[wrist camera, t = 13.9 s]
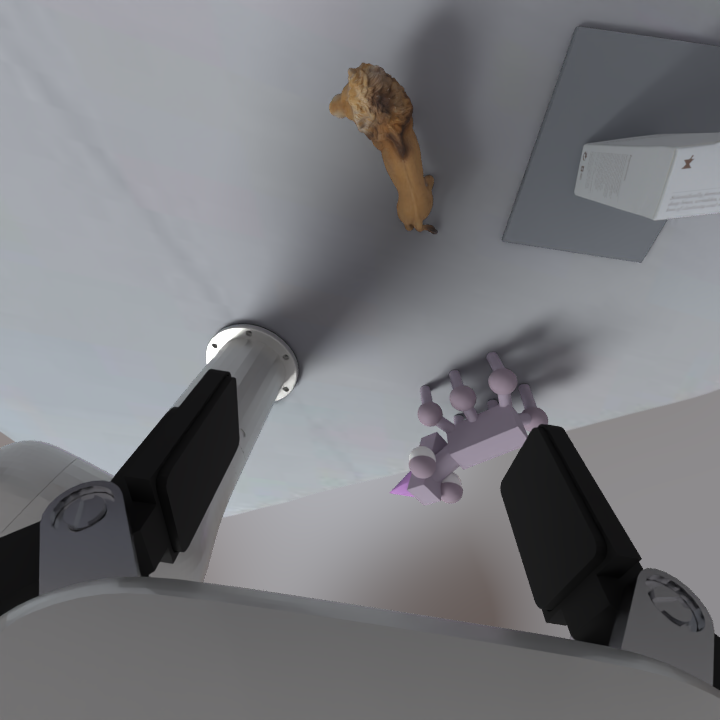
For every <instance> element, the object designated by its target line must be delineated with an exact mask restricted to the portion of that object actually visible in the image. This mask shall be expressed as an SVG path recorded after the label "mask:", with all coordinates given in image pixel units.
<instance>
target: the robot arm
mask: <svg viewBox="0 0 720 720" xmlns="http://www.w3.org/2000/svg"><path fill="white" fill-rule="evenodd" d="M206 360H207V365H206V366H205V367H204V368H203V370H202V371H201V372H200V373H199V374H198V376H197V377H196V378H195V379H194V380H193V382H192V383H191V384H190V385H189V386H188V388H187V389H186V390H185V391H184V392H183V394H182V395H181V396H180V397H179V399H178V400H177V401H176V402H175V403H174V405H173V406H172V407H171V408H170V409H169V411H168V412H167V413H166V414H165V415H164V417H163V418H162V419H161V420H160V421H159V423H158V424H157V425H156V426H155V427H154V429H153V430H152V431H151V432H150V434H149V435H148V436H147V437H146V438H145V440H144V441H143V442H142V443H141V445H140V446H139V447H138V448H137V449H136V451H135V452H134V453H133V454H132V455H131V457H130V458H129V459H128V460H127V461H126V463H125V464H124V465H123V466H122V467H121V469H120V470H119V471H118V472H117V474H116V475H115V476H113V475H111V474H110V473H108V472H106V471H104V470H102V469H100V468H98V467H96V466H95V465H93V464H91V463H89V462H87V461H85V460H83V459H81V458H80V457H77V456H75V455H73V454H71V453H69V452H68V451H65V450H63V449H61V448H59V447H57V446H54V445H51V444H49V443H45V442H40V441H20V442H15V443H11V444H8V445H6V446H3V447H1V448H0V720H720V637H718V636H717V635H716V634H715V633H714V626H713V620H712V618H711V616H710V614H709V612H708V611H707V609H706V607H705V606H704V605H703V603H702V602H701V601H700V599H699V598H698V597H697V596H696V595H695V594H694V593H693V592H692V591H691V590H690V589H689V588H688V587H687V586H686V585H684V584H683V583H682V582H681V581H679V580H678V579H677V578H675V577H673V576H671V575H670V574H668V573H666V572H663V571H661V570H658V569H652V568H647V569H644V570H643V568H642V566H641V565H640V563H639V561H640V560H641V559H642V558H641V557H640V555H639V553H638V552H637V550H636V548H635V547H634V545H633V543H632V542H631V540H630V538H629V537H628V535H627V533H626V532H625V530H624V528H623V527H622V525H621V524H620V522H619V520H618V518H617V517H616V515H615V514H614V512H613V510H612V509H611V507H610V505H609V503H608V502H607V500H606V498H605V497H604V495H603V493H602V492H601V490H600V489H599V487H598V485H597V484H596V482H595V480H594V478H593V477H592V475H591V473H590V472H589V470H588V469H587V467H586V466H585V463H584V462H583V460H582V458H581V457H580V455H579V454H578V452H577V450H576V448H575V447H574V445H573V443H572V442H571V440H570V439H569V437H568V435H567V434H566V432H565V430H564V429H563V428H562V427H559V426H553V425H547V424H540V425H539V426H538V427H534V428H533V429H532V430H531V432H530V433H529V435H528V437H527V439H526V440H525V442H524V444H523V446H522V447H521V449H520V451H519V452H518V454H517V456H516V458H515V459H514V461H513V463H512V465H511V466H510V468H509V470H508V472H507V473H506V475H505V477H504V478H503V480H502V482H501V495H502V498H503V501H504V504H505V507H506V510H507V514H508V517H509V520H510V523H511V527H512V530H513V533H514V536H515V539H516V543H517V546H518V549H519V552H520V555H521V559H522V562H523V565H524V568H525V571H526V575H527V578H528V580H529V584H530V587H531V591H532V594H533V597H534V600H535V603H536V604H537V606H538V607H539V608H540V609H542V611H543V614H544V617H545V621H546V622H547V623H552V624H560V625H567V626H568V629H569V631H570V634H571V636H570V639H565V638H559V637H553V636H548V635H542V634H536V633H530V632H524V631H518V630H512V629H505V628H499V627H493V626H487V625H481V624H474V623H468V622H462V621H456V620H449V619H443V618H437V617H430V616H424V615H418V614H411V613H405V612H399V611H392V610H386V609H379V608H373V607H366V606H360V605H353V604H347V603H340V602H334V601H327V600H321V599H314V598H307V597H301V596H295V595H288V594H281V593H275V592H268V591H261V590H255V589H248V588H241V587H234V586H225V585H219V584H211V583H203V582H204V578H205V575H206V572H207V569H208V565H209V561H210V558H211V554H212V550H213V546H214V543H215V539H216V536H217V532H218V529H219V526H220V523H221V520H222V517H223V514H224V512H225V509H226V507H227V504H228V502H229V499H230V497H231V495H232V492H233V490H234V488H235V486H236V483H237V481H238V479H239V477H240V475H241V473H242V470H243V468H244V466H245V464H246V462H247V459H248V457H249V455H250V453H251V451H252V449H253V447H254V444H255V442H256V440H257V438H258V436H259V434H260V432H261V430H262V427H263V425H264V423H265V421H266V419H267V417H268V415H269V413H270V410H271V408H272V406H273V404H274V402H275V401H278V400H280V399H282V398H284V397H286V396H287V395H288V394H289V393H290V392H291V391H292V390H293V388H294V386H295V384H296V382H297V378H298V369H299V368H298V363H297V360H296V357H295V355H294V353H293V352H292V350H291V349H290V347H289V346H288V345H287V344H286V343H285V342H284V341H283V340H282V339H281V338H280V337H278V336H277V335H276V334H274V333H272V332H271V331H269V330H267V329H264V328H261V327H259V326H254V325H249V324H237V325H231V326H228V327H226V328H223V329H222V330H220V331H219V332H218V333H217V334H216V335H215V336H214V337H213V338H212V339H211V341H210V342H209V344H208V347H207V350H206Z"/></svg>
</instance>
